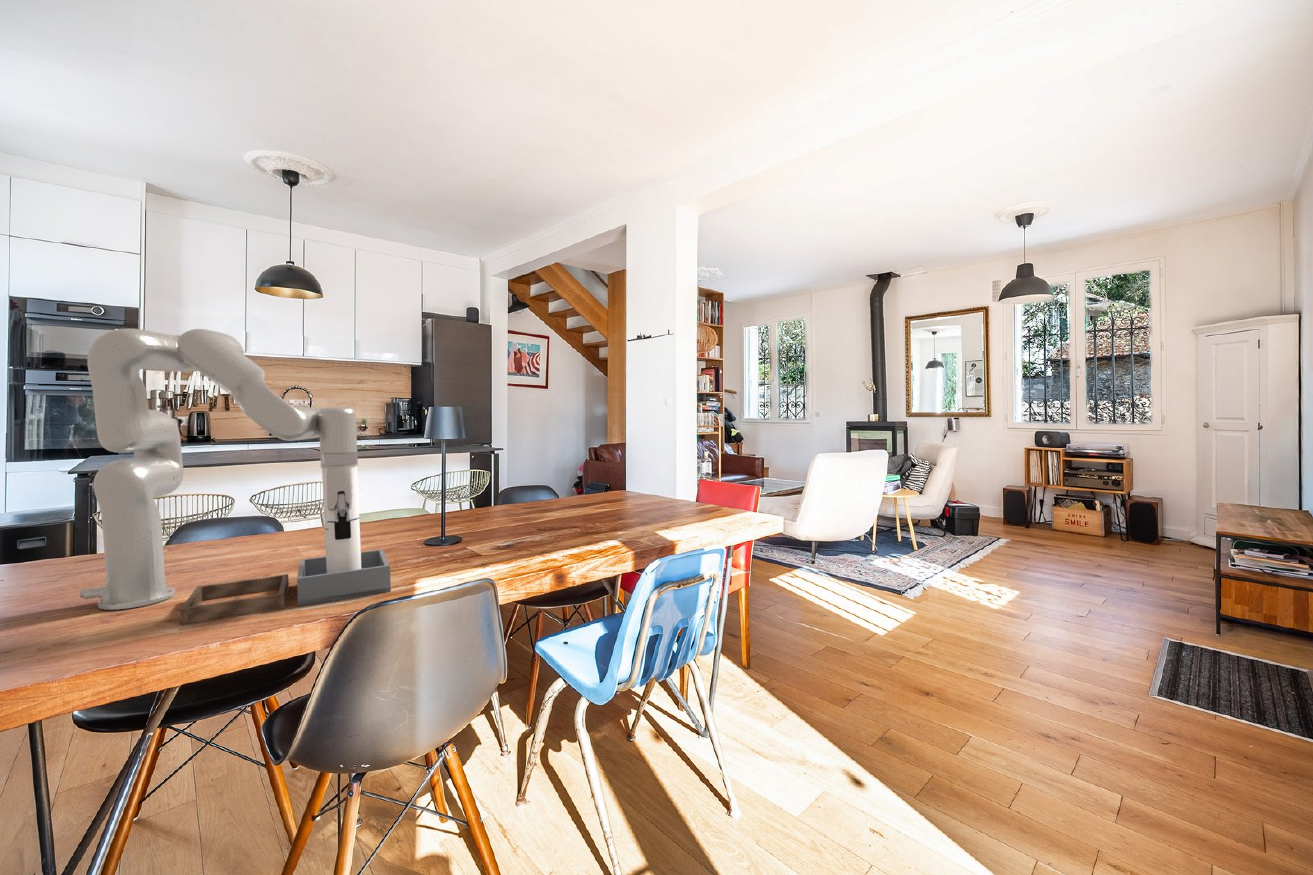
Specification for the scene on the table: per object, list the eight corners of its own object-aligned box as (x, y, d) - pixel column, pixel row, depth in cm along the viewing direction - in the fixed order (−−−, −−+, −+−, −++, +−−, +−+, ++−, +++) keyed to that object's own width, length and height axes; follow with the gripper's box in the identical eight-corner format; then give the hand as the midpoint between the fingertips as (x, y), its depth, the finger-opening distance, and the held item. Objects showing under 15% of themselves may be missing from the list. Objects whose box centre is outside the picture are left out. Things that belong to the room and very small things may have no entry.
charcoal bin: (298, 606, 120) (297, 578, 119) (301, 584, 135) (300, 559, 135) (390, 591, 129) (389, 565, 128) (383, 572, 144) (382, 549, 144)
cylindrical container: (346, 577, 127) (341, 468, 126) (319, 575, 129) (314, 467, 128) (368, 568, 134) (364, 464, 133) (342, 566, 136) (338, 464, 135)
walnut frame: (181, 624, 110) (180, 609, 110) (197, 599, 125) (197, 586, 125) (284, 608, 119) (283, 594, 119) (288, 586, 133) (288, 574, 133)
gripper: (320, 458, 136) (324, 530, 137) (320, 464, 121) (324, 545, 122) (355, 456, 140) (358, 527, 141) (359, 462, 125) (362, 540, 126)
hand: (342, 535), depth 131 cm, fingers closed on cylindrical container, 7 cm apart
